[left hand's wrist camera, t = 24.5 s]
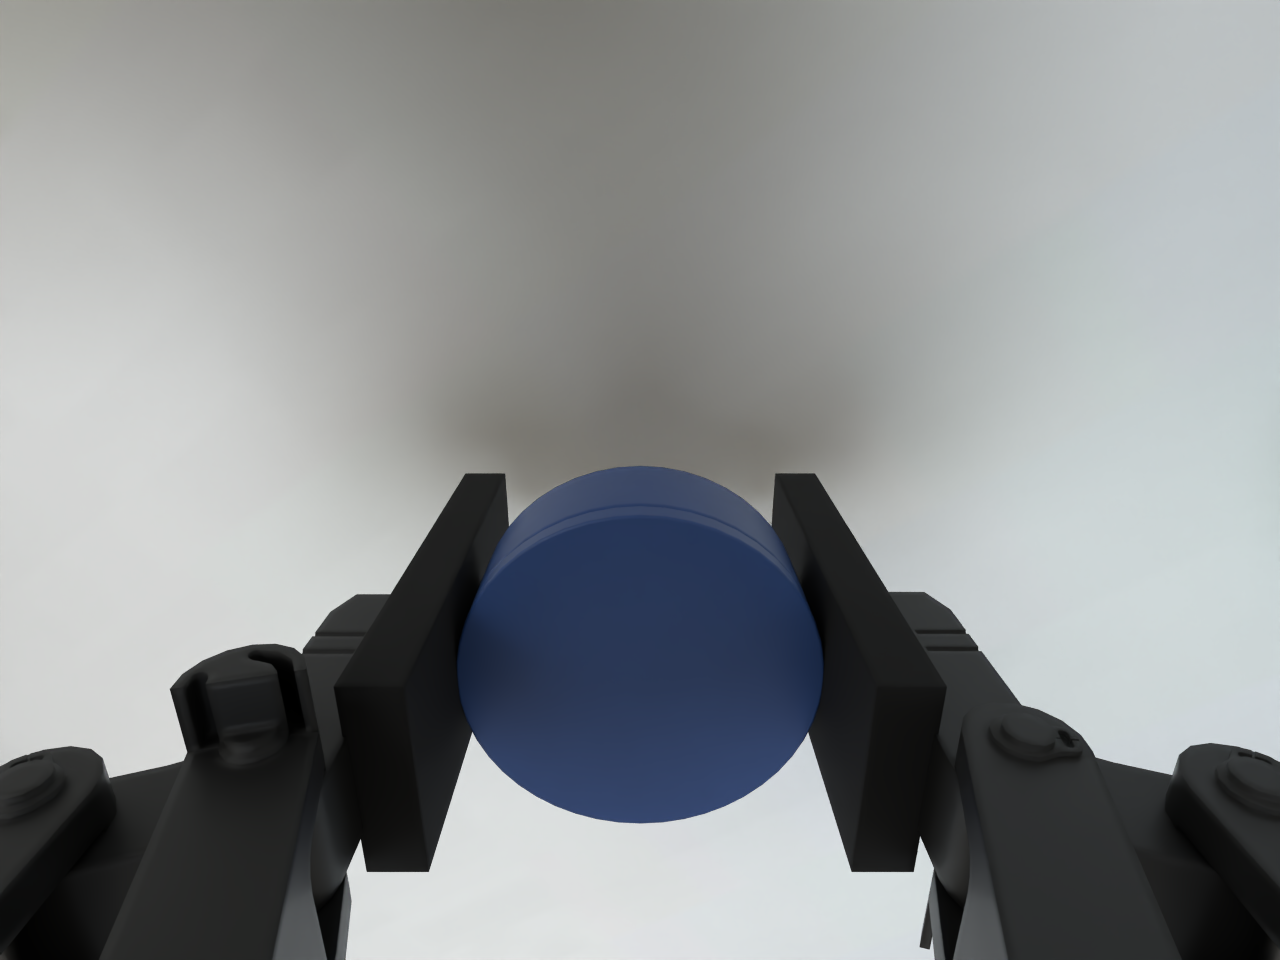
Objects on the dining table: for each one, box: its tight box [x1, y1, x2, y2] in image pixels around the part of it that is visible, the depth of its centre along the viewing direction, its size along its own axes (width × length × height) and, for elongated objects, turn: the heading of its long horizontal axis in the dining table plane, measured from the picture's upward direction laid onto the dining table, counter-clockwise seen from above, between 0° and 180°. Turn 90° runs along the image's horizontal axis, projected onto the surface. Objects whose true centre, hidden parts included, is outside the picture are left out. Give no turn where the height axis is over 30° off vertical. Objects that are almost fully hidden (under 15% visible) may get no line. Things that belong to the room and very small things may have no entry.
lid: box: [456, 466, 824, 823], centre depth 11 cm, size 5×5×2 cm
